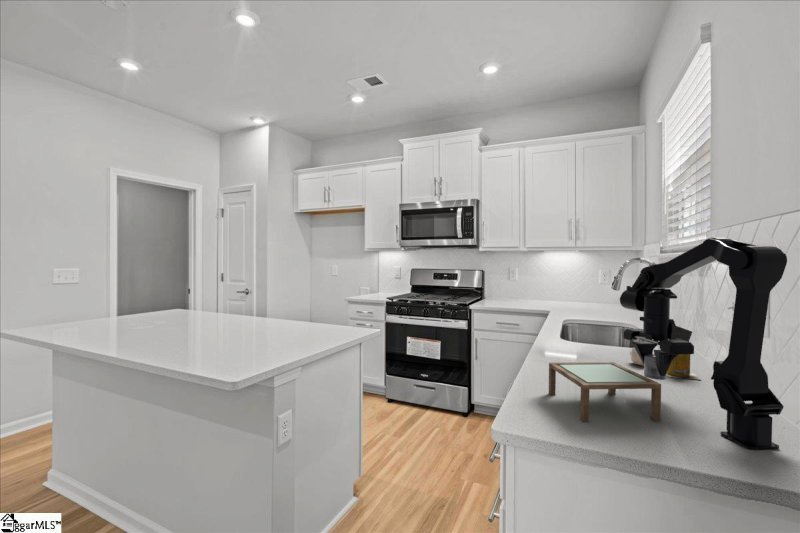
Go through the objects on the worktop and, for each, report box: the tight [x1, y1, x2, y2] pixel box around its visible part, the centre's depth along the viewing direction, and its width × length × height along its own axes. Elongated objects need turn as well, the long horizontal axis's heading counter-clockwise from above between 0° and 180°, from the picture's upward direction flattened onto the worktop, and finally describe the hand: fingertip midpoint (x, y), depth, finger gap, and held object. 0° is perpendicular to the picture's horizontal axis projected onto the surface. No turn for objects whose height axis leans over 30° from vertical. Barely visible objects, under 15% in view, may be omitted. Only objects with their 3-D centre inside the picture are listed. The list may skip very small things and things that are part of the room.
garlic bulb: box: [629, 347, 644, 367], centre depth 132 cm, size 7×6×8 cm
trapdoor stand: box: [548, 361, 662, 423], centre depth 95 cm, size 18×18×8 cm
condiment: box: [667, 354, 702, 381], centre depth 120 cm, size 7×8×12 cm
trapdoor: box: [560, 364, 647, 383], centre depth 95 cm, size 14×14×1 cm
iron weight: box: [643, 353, 668, 381], centre depth 101 cm, size 5×5×6 cm
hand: (655, 372), depth 101 cm, fingers closed on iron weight, 5 cm apart
